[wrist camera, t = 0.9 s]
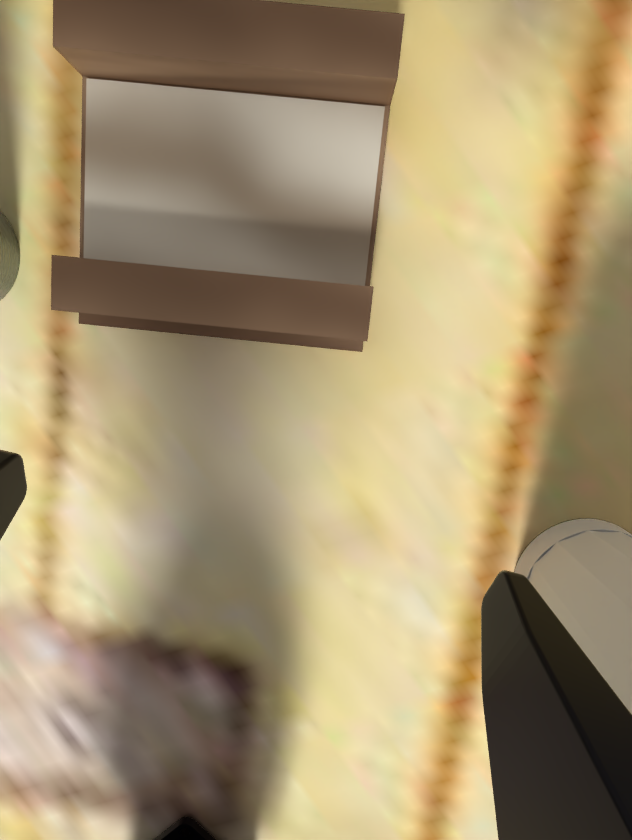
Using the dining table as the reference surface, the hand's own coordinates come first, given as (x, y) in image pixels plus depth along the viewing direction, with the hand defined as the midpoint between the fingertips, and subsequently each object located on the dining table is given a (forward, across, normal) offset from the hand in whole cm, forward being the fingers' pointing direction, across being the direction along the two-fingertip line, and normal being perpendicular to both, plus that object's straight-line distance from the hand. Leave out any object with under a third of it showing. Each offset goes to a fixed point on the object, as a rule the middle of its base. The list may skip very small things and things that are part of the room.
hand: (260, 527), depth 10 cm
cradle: (+16, +5, -2) cm, 17 cm away
